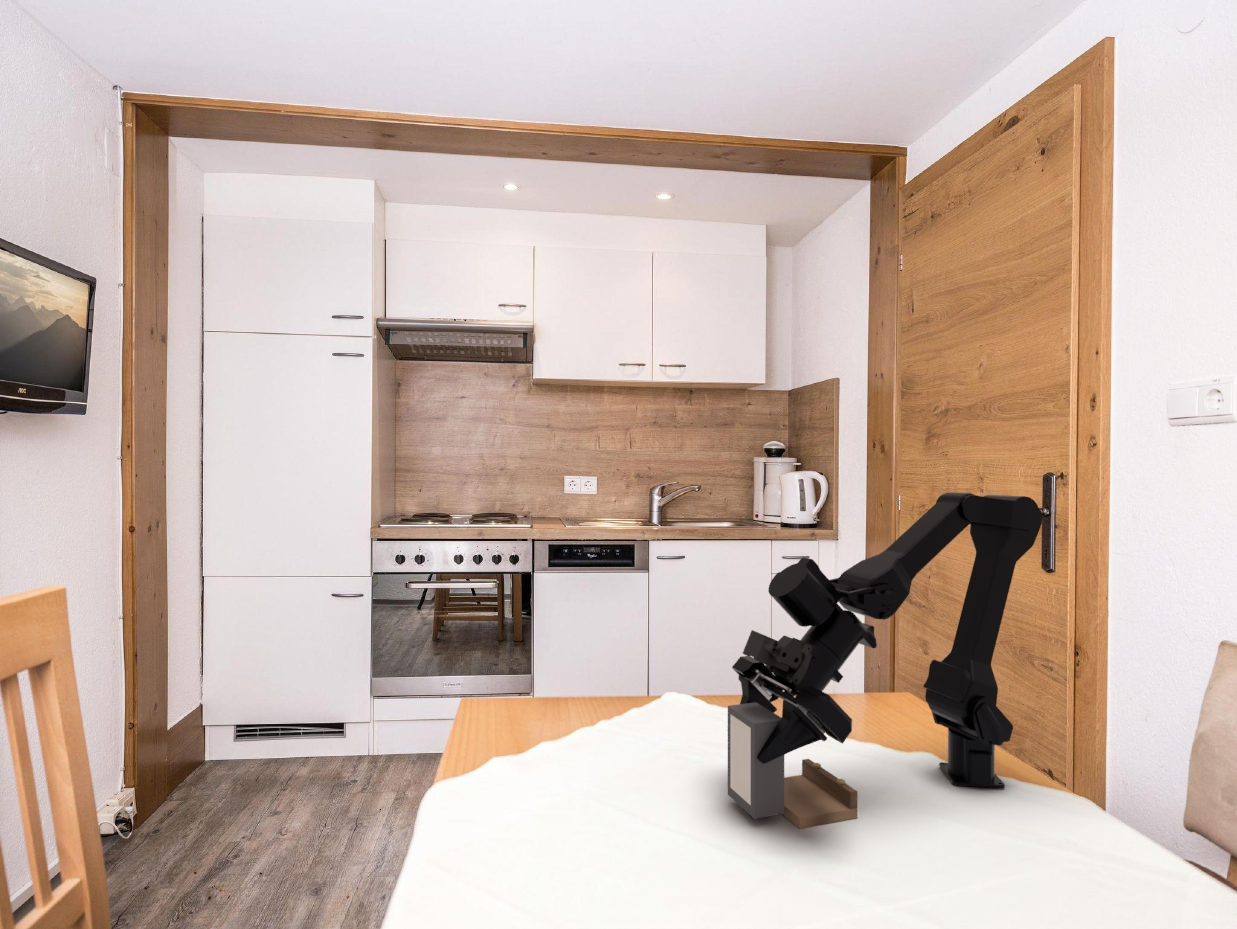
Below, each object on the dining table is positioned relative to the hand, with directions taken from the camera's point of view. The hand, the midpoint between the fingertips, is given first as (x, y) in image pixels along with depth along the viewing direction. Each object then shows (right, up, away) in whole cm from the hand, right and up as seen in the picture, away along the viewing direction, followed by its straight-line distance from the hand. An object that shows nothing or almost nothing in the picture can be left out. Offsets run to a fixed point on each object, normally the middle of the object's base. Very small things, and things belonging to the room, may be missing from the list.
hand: (745, 749), depth 85 cm
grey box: (+1, -7, 0) cm, 7 cm away
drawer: (+8, -8, +3) cm, 11 cm away
